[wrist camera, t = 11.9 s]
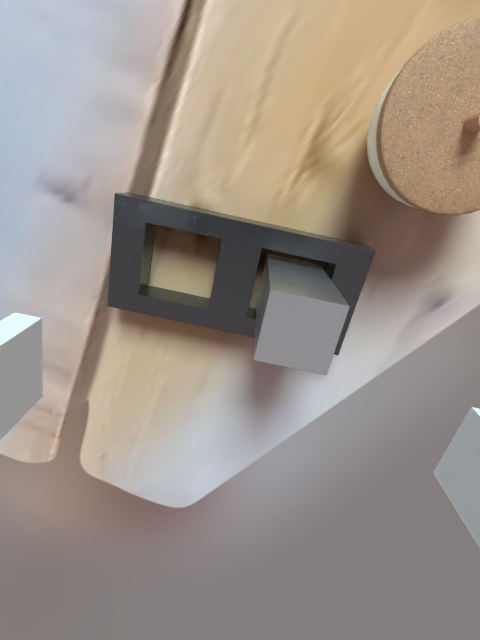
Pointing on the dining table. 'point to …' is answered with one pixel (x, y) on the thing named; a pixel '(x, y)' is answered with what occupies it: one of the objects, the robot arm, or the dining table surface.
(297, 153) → the dining table surface
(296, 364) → the solid steel block
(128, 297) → the dark grey flat frame
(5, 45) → the dining table surface
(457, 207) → the lidded jar
